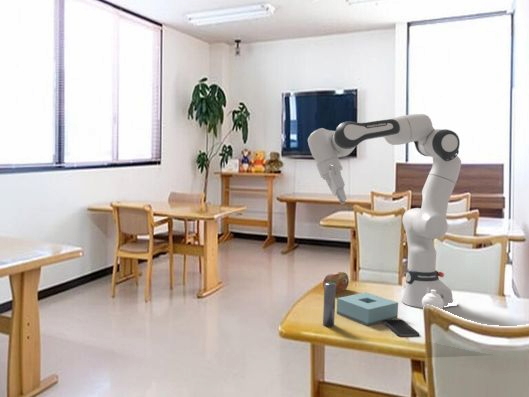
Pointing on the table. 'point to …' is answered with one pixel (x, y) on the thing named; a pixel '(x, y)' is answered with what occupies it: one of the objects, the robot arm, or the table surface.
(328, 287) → the pin
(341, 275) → the tin
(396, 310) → the hole block
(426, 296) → the spinning top
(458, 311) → the table surface
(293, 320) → the table surface
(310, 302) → the table surface
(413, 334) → the phone
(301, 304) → the table surface
